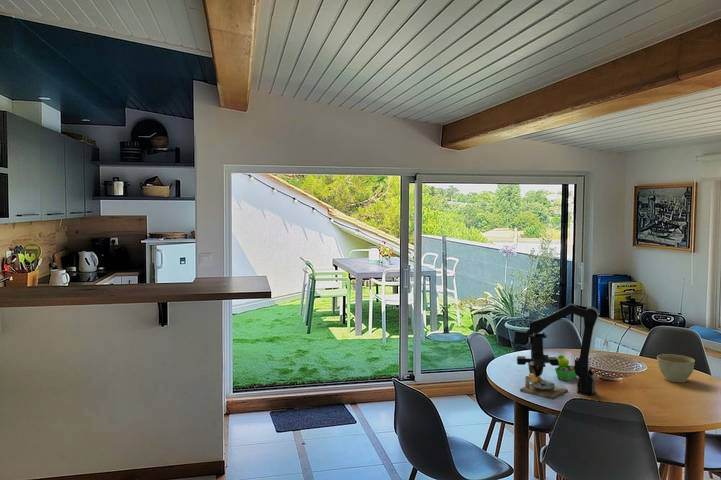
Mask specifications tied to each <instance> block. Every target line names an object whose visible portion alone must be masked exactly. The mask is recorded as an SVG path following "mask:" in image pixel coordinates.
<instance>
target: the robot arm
mask: <svg viewBox="0 0 721 480" xmlns="http://www.w3.org/2000/svg"><path fill="white" fill-rule="evenodd" d="M571 314H573V315H576V316H578V317H581V318H583V324H584V329H583V335H582V341H581V347H580V351H579V353H580V354H579V357H576V356H575V360H574V365H573V366H574V368H573V369H575V373H576V375H577V376H576V377H578V381H577V383H576V385H577V390H576V393H578V394H582V395H585V396H593V395H594V394H596V393H597V391H596V389H595V388H596V382H595V381H596V380H595V379H594V376H595V373H594V371H592V370H591V369H590V358H589V357H590V351H591V345H592V340H593V339H592V338H593V332H594V328H595V325H596V323H597V319H598V317H599V310H598V309H597V308H596V307H594V306H590V307H588V306H583V305H579V304H578V305H577V304H575V303H570V304H568V305H566V306H565V307H563V308H561V309H558V310H557V311H555V312H553V313H551V314H549V315H547V316H544V317H540V318H537V319H534V320H532V321H531V322H530V323H529V328H528V330H526V331H523V330H522V331H521V330H515V332H514V333H515V334H514V338H513V341H514V342H513V343H514V345H515V346H528V344H530V358H528V357H526V355H525V356H524V355H522V356H521V355H518V356H516V364H517V365H518V366H519V365H520V366H523V365H524V366H525V365H526V364H528V363H529V364H530V366H531V367H533V368H534V370H535V373H536V375H537V376H539V375H540V373H541V370H542V368H543V369H544V368H546V367H547V366H546V364H549V365H551V366H553V367H559V361H558V357H557V356H549V354H545V353H544V339H547V338H548V335H547V333H545V332H542V331H543V330H545V329H546V328H547V327H548V326H550V325H551V324H553V323H555V322H557V321H559V320H561V319H563V318H566V317H567V316H569V315H571ZM541 332H542V333H541ZM537 365H538V370H537ZM540 376H541V375H540Z"/></svg>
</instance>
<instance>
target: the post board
mask: <svg viewBox="0 0 721 480" xmlns="http://www.w3.org/2000/svg"><path fill="white" fill-rule="evenodd" d="M546 381H547V380H541V384H546ZM519 391H520V392H523V393H526V394H530V395H534V396H539V397H542V398H547V399H551V400H554V399H556V398H558V397H561V396H562V395H563V394H565V393H568V391H569V389H568V388H564V387H559V386H556V385H555V388H554V389H551V390H542V389H537V388H534V387H533V386H532V383H531V384H530V383H529V387H525V386H523V387H521V388H519Z"/></svg>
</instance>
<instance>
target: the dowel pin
mask: <svg viewBox="0 0 721 480" xmlns="http://www.w3.org/2000/svg"><path fill="white" fill-rule="evenodd" d="M524 381H525V385H524V387H529V385H530V381H529V375H526V376H525V379H524Z"/></svg>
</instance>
